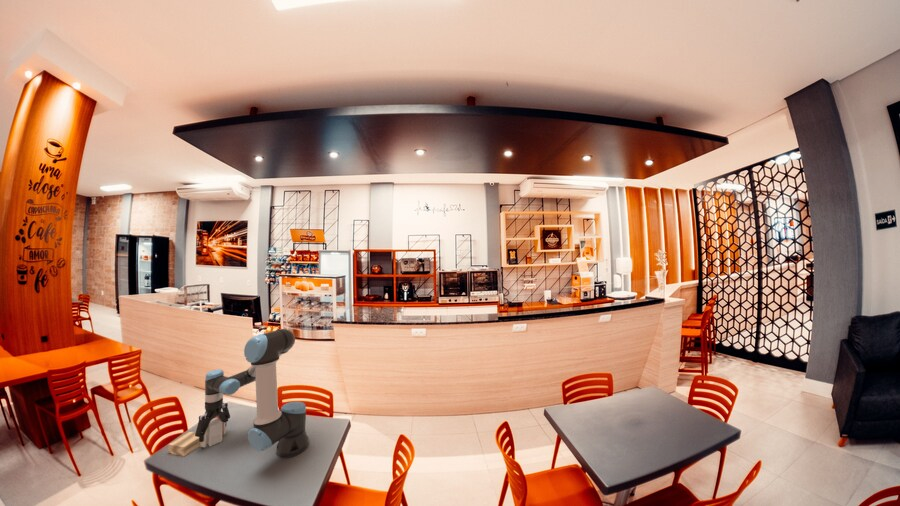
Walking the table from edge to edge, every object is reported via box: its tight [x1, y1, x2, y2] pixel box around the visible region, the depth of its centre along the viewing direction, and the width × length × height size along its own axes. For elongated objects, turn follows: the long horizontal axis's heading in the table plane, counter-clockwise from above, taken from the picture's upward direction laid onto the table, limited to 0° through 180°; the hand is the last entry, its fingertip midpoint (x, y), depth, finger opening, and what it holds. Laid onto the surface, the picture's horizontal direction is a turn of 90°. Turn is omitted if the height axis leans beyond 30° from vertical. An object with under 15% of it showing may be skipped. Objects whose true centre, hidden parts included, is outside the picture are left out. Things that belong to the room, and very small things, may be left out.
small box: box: [205, 418, 223, 447], centre depth 151 cm, size 8×6×10 cm
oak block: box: [167, 431, 200, 457], centre depth 145 cm, size 10×10×5 cm
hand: (213, 439), depth 151 cm, fingers open, 10 cm apart
